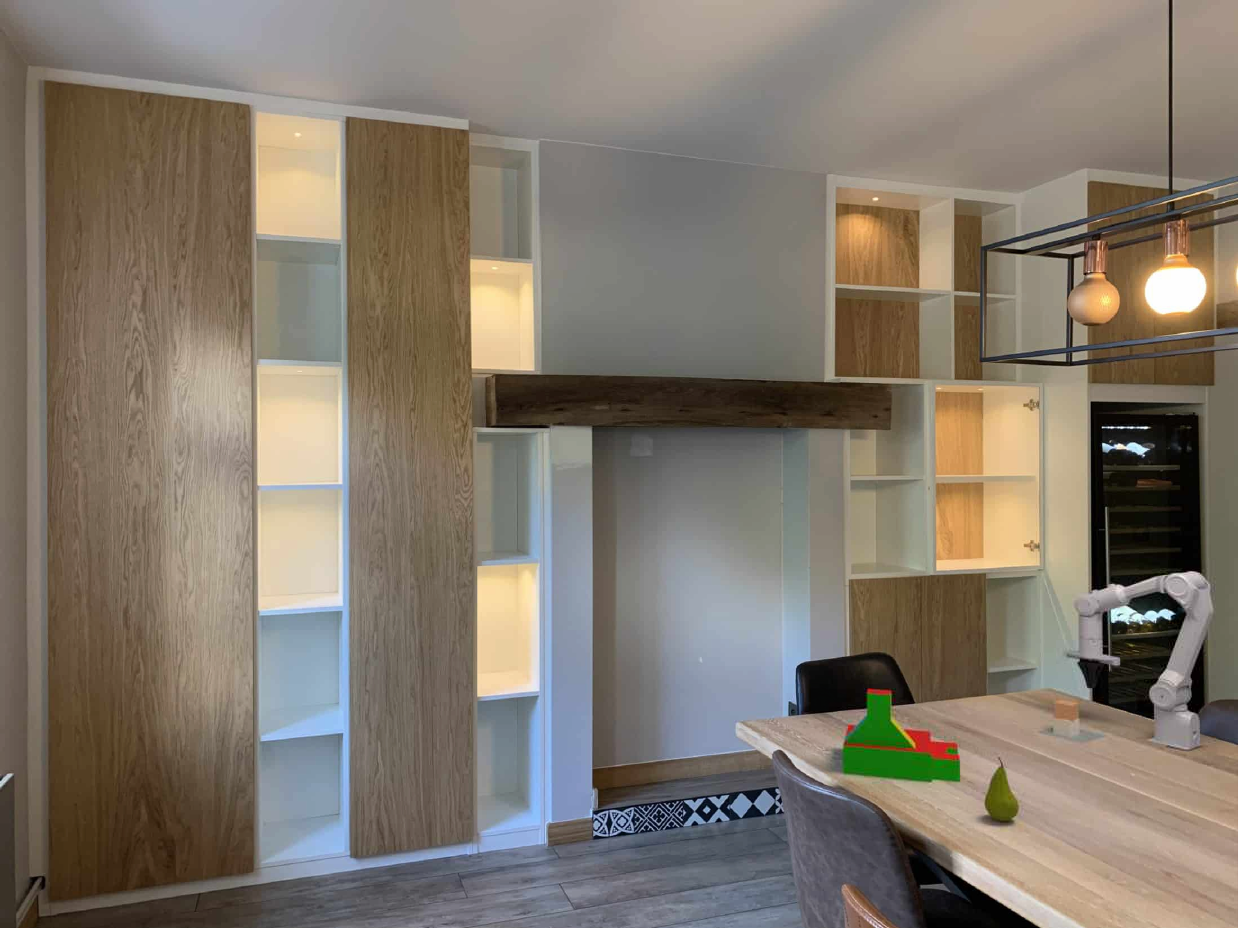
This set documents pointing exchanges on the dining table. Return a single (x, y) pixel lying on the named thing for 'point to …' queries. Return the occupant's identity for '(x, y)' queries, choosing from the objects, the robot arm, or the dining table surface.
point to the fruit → (1001, 797)
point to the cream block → (1066, 727)
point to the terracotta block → (1066, 710)
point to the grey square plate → (1082, 737)
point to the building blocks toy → (896, 747)
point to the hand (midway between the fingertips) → (1091, 687)
